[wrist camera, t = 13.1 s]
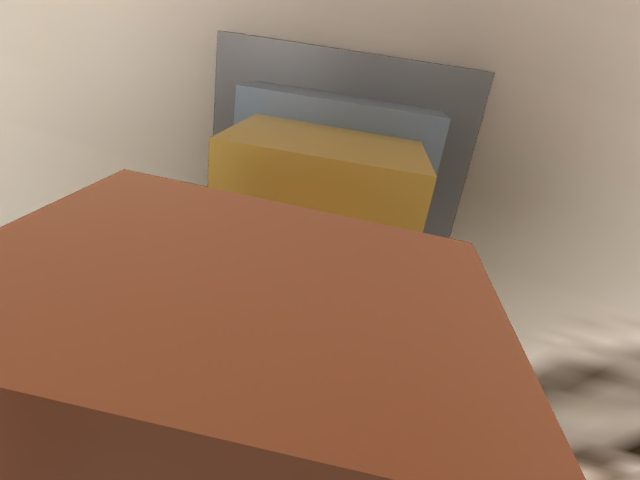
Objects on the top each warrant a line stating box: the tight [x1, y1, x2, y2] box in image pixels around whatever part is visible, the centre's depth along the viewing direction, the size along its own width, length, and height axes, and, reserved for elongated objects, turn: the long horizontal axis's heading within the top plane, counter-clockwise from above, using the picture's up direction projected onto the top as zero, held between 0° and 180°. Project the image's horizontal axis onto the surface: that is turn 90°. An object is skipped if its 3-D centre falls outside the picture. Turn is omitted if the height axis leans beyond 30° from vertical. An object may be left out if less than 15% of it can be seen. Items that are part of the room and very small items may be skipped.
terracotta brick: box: [0, 169, 586, 480], centre depth 6 cm, size 6×6×4 cm
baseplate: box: [213, 31, 495, 238], centre depth 17 cm, size 10×10×3 cm
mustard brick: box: [207, 114, 437, 233], centre depth 14 cm, size 6×6×4 cm
